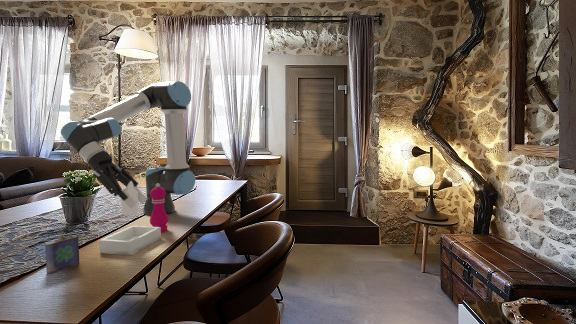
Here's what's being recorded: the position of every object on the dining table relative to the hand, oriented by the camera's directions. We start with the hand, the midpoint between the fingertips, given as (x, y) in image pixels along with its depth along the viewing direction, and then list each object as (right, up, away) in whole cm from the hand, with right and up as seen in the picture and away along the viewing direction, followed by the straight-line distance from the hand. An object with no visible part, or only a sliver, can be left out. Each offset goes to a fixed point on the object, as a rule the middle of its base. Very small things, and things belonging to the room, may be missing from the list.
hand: (139, 203), depth 121 cm
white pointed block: (-4, -4, +1) cm, 6 cm away
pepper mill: (0, -14, +20) cm, 24 cm away
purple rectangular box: (-15, -18, -18) cm, 29 cm away
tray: (-3, -16, +2) cm, 16 cm away
